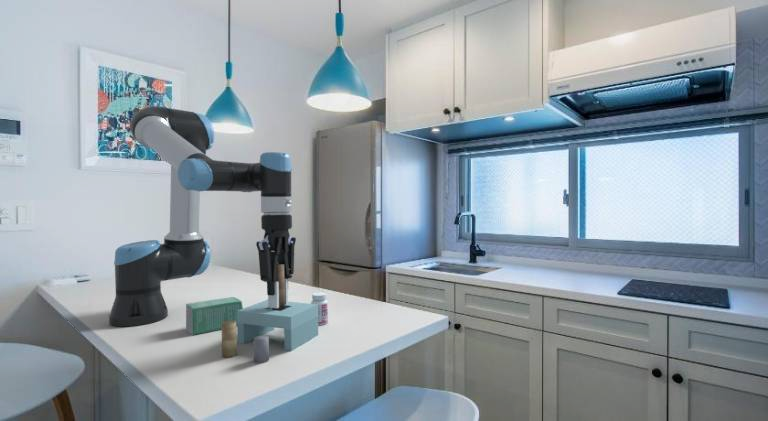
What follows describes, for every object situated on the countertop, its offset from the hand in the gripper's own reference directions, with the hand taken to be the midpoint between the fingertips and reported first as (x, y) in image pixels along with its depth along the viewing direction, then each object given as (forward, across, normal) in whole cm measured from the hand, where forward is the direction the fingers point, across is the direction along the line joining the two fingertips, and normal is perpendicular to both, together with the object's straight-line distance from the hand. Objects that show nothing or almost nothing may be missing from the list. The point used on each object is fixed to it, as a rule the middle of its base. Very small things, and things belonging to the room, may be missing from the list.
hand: (278, 305), depth 101 cm
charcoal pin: (+9, -13, -5) cm, 16 cm away
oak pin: (+9, -13, +4) cm, 16 cm away
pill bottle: (+9, +15, -3) cm, 18 cm away
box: (+9, +2, +23) cm, 25 cm away
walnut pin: (+2, 0, 0) cm, 2 cm away
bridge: (+9, 0, 0) cm, 9 cm away
